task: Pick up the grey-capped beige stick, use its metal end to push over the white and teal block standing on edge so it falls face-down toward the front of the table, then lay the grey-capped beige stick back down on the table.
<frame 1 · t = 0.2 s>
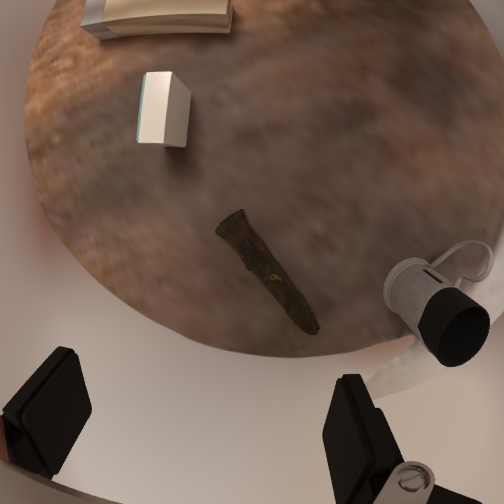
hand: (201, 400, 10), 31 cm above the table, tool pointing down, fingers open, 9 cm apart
hand tool: (277, 270, 42), on the table
glass holder: (417, 269, 41), on the table
grey-capped beige stick: (163, 20, 32), on the table
white and teal block: (178, 119, 36), on the table
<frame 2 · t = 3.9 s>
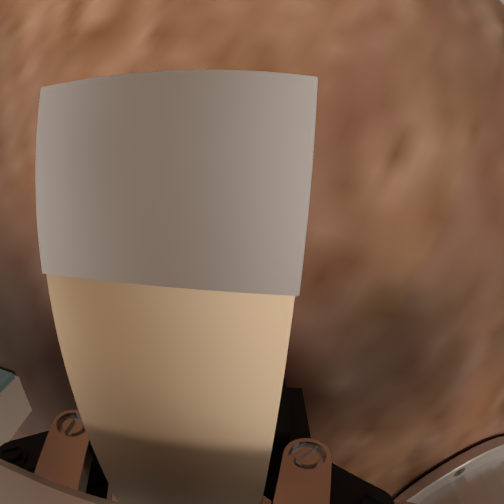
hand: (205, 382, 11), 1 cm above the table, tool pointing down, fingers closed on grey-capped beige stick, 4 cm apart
grey-capped beige stick: (207, 370, 12), on the table, touching gripper
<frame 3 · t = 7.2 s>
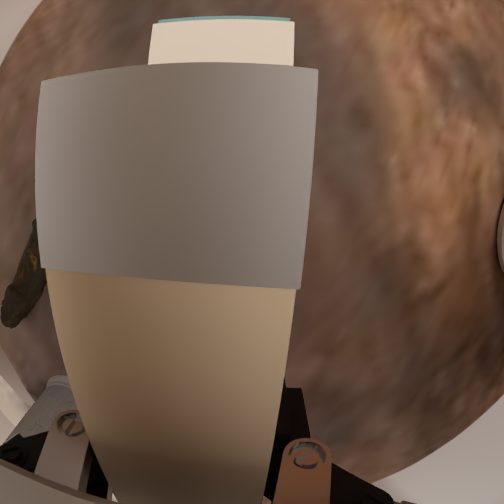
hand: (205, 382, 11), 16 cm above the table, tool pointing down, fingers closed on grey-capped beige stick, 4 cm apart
hand tool: (54, 256, 27), on the table
glass holder: (95, 410, 32), on the table
grey-capped beige stick: (208, 368, 12), point 15 cm above the table, touching gripper
white and teal block: (235, 85, 22), on the table
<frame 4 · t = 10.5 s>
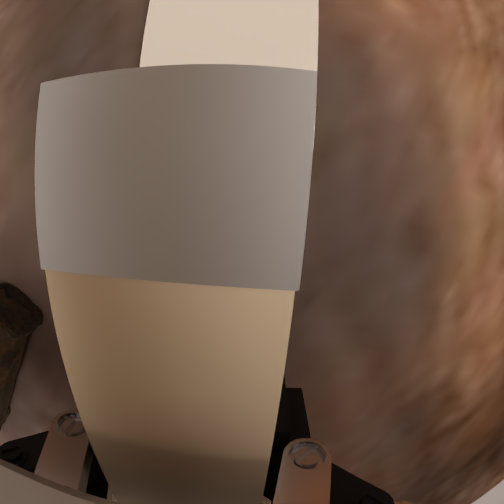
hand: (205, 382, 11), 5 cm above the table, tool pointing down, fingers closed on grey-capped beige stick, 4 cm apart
hand tool: (12, 377, 19), on the table
grey-capped beige stick: (207, 369, 12), point 4 cm above the table, touching gripper
white and teal block: (223, 144, 13), point 1 cm above the table, tilted 90°
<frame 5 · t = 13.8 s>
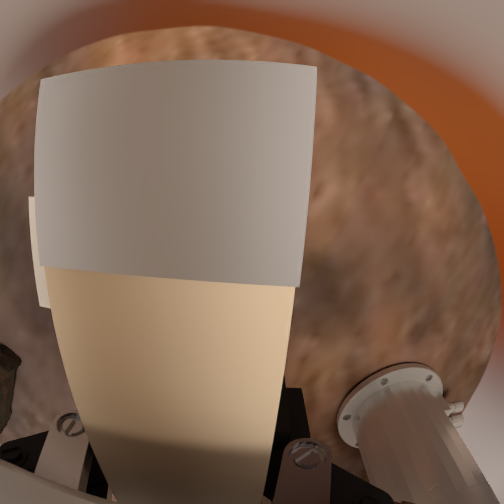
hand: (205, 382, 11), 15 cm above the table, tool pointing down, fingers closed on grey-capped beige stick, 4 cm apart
hand tool: (11, 391, 32), on the table
grey-capped beige stick: (207, 367, 12), point 14 cm above the table, touching gripper
white and teal block: (75, 306, 26), point 1 cm above the table, tilted 90°
when the fingers open (3 cm above the table, at t = 16.5 s): grey-capped beige stick drops 2 cm, on the table.
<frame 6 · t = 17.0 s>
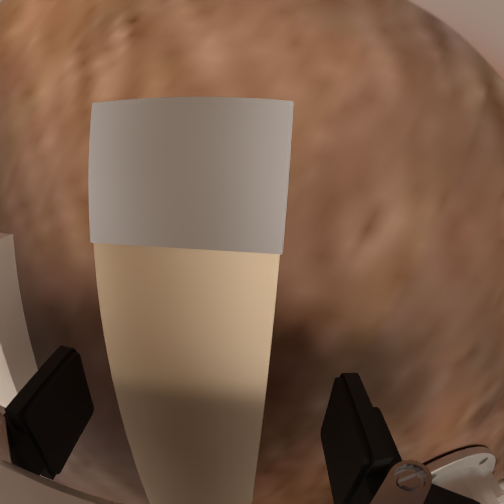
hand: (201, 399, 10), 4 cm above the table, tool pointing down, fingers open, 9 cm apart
grey-capped beige stick: (212, 343, 14), on the table
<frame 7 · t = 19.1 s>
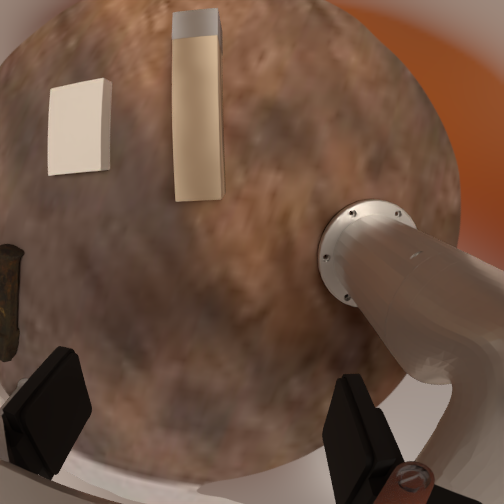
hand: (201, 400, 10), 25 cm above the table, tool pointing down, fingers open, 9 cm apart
hand tool: (17, 304, 37), on the table
grey-capped beige stick: (203, 108, 31), on the table
white and teal block: (78, 172, 31), point 1 cm above the table, tilted 90°
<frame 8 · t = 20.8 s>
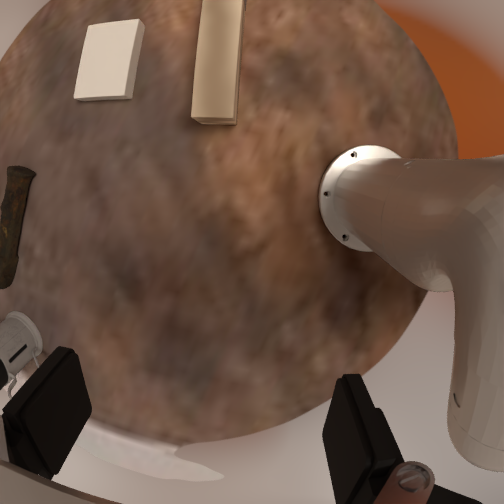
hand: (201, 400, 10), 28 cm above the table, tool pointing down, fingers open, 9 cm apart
hand tool: (20, 229, 38), on the table
glass holder: (35, 340, 43), on the table
grey-capped beige stick: (224, 52, 32), on the table
white and teal block: (102, 98, 32), point 1 cm above the table, tilted 90°
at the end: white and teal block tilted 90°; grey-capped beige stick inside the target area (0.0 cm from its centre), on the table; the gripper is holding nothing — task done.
